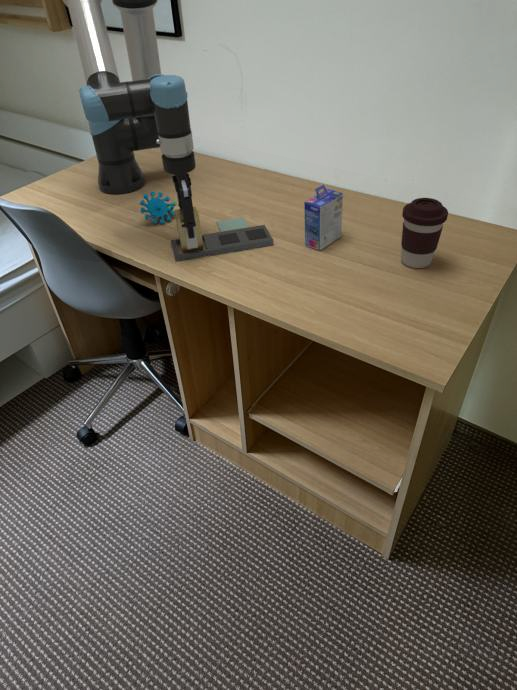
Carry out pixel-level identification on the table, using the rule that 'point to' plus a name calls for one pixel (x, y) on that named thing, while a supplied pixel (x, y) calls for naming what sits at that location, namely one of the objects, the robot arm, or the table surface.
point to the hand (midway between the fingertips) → (190, 241)
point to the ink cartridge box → (323, 218)
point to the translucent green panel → (232, 224)
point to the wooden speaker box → (182, 232)
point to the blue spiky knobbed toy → (157, 207)
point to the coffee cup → (421, 231)
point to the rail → (227, 242)
